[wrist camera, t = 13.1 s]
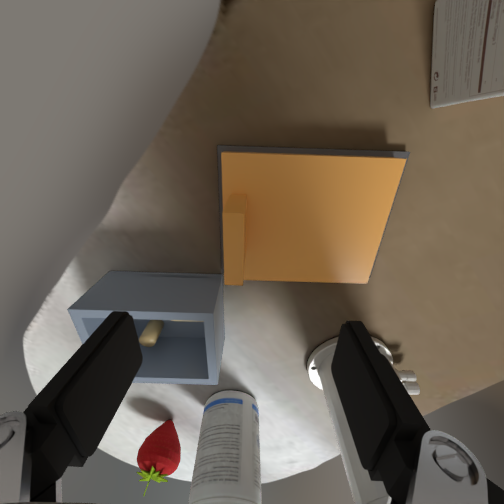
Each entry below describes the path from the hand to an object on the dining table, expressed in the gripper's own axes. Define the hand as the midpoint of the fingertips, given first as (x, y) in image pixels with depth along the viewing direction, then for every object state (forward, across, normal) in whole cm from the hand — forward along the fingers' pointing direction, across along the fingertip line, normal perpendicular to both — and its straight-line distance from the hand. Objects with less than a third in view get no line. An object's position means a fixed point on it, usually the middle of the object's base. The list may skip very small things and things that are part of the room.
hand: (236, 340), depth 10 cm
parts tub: (+16, +10, +12) cm, 23 cm away
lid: (+16, -5, -1) cm, 17 cm away
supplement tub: (+17, +2, +34) cm, 38 cm away
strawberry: (+17, +14, +40) cm, 46 cm away
